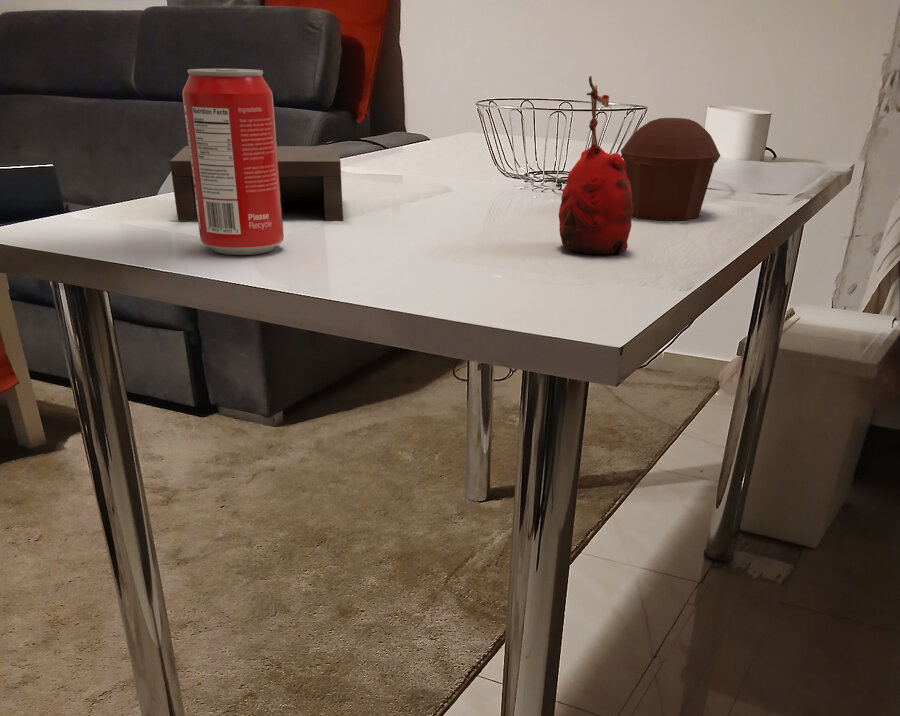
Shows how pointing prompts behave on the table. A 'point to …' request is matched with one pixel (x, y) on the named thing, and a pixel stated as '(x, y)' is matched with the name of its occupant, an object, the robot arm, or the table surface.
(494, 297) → the table surface
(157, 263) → the table surface
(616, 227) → the red clay folk toy
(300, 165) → the stand
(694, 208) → the muffin
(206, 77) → the soda can
